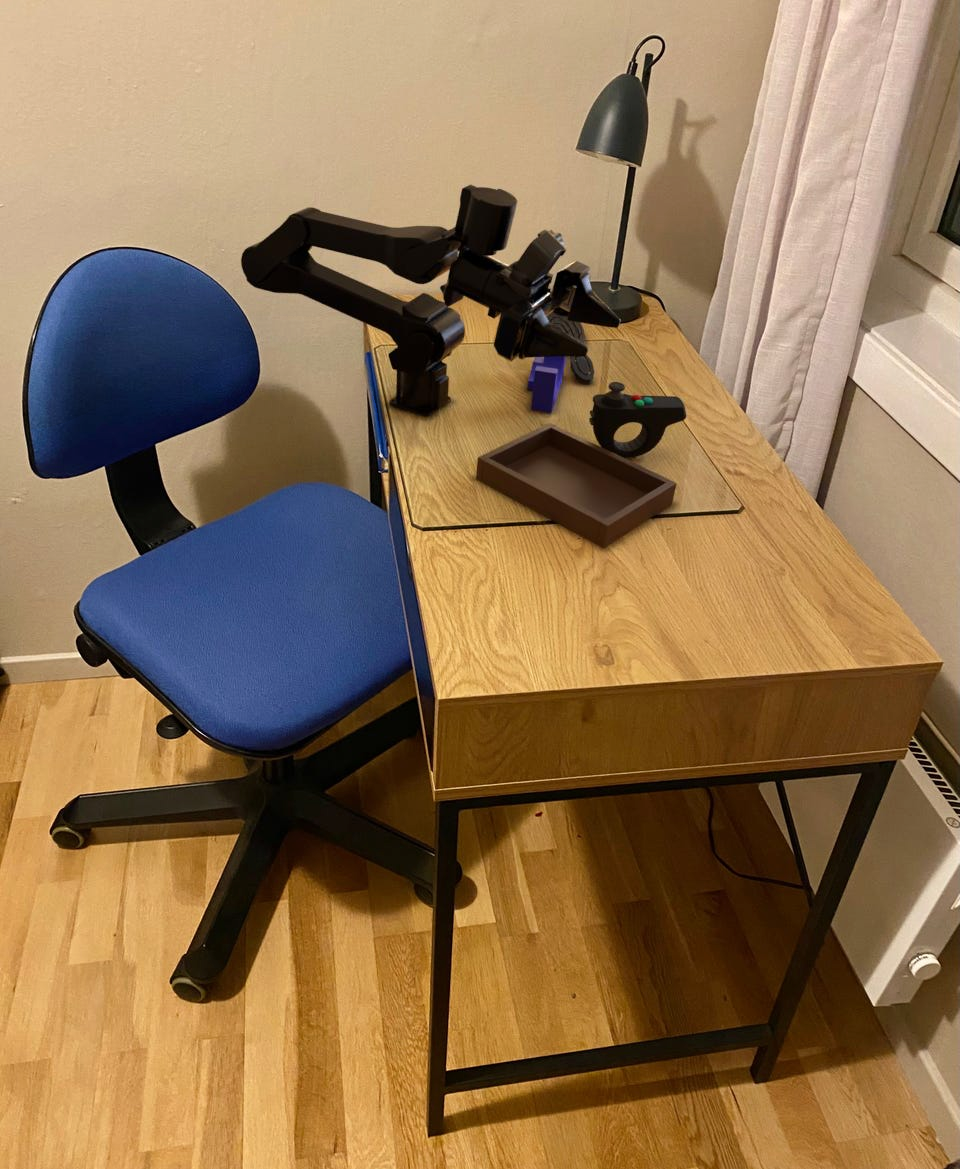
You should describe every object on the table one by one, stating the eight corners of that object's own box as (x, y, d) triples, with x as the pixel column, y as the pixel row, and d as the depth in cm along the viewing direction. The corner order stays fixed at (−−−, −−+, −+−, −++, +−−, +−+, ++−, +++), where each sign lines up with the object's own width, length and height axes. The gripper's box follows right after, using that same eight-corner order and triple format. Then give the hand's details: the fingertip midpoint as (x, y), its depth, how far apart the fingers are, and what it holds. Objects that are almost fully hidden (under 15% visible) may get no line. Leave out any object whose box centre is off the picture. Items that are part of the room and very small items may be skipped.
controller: (581, 446, 127) (591, 377, 121) (670, 446, 129) (685, 378, 123) (588, 463, 124) (599, 392, 118) (679, 462, 125) (695, 393, 119)
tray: (475, 479, 119) (477, 457, 117) (547, 443, 127) (549, 422, 125) (603, 548, 109) (607, 526, 107) (672, 504, 117) (677, 482, 115)
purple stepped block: (533, 373, 144) (537, 335, 141) (563, 377, 144) (567, 339, 140) (520, 408, 135) (524, 368, 131) (551, 413, 134) (556, 373, 131)
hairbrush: (562, 367, 140) (528, 295, 159) (558, 389, 142) (525, 316, 161) (616, 367, 141) (576, 296, 160) (612, 389, 144) (573, 316, 162)
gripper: (467, 248, 107) (588, 305, 103) (544, 201, 120) (654, 251, 116) (451, 334, 115) (562, 390, 111) (524, 282, 128) (627, 331, 124)
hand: (603, 337), depth 115 cm, fingers open, 9 cm apart
